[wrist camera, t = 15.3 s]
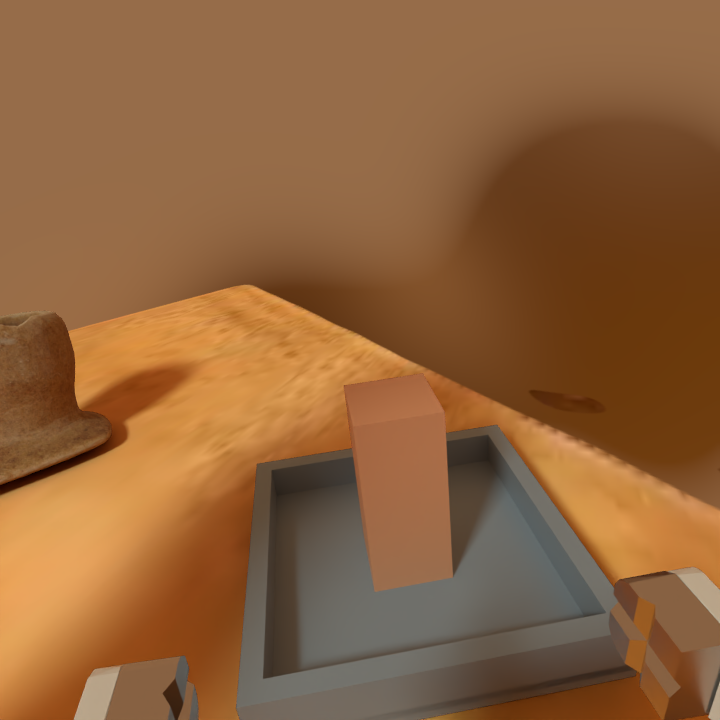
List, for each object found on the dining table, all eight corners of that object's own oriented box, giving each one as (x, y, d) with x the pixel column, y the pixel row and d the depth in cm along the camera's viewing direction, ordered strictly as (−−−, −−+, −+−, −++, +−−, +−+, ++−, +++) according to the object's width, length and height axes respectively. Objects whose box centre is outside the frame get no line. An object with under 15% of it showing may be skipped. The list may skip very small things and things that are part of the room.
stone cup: (100, 411, 63) (57, 288, 57) (124, 452, 54) (77, 311, 48) (-54, 464, 56) (-122, 329, 49) (-55, 523, 46) (-139, 366, 40)
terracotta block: (374, 591, 33) (353, 426, 28) (363, 536, 38) (343, 385, 33) (452, 577, 34) (444, 411, 29) (432, 524, 38) (422, 373, 33)
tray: (250, 753, 26) (236, 708, 25) (264, 498, 45) (257, 463, 43) (635, 675, 28) (642, 628, 26) (497, 459, 46) (497, 424, 45)
